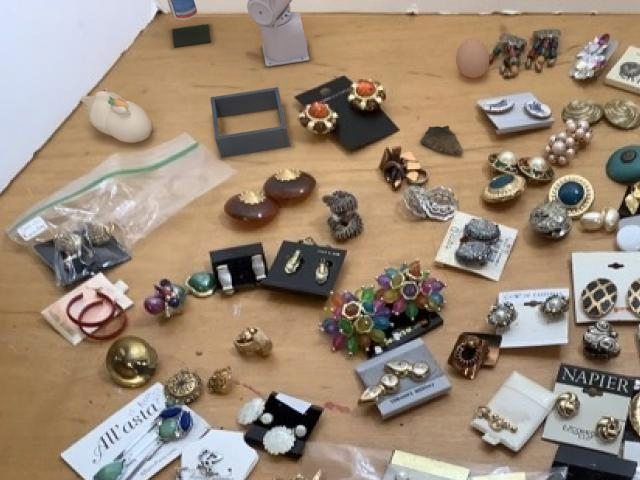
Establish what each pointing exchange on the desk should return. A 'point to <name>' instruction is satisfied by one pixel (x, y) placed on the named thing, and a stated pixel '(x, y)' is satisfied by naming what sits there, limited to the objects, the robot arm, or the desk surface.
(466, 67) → the egg
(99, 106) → the cat figurine
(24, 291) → the desk surface
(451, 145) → the arrowhead
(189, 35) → the pad
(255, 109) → the open box
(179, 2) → the pill bottle
